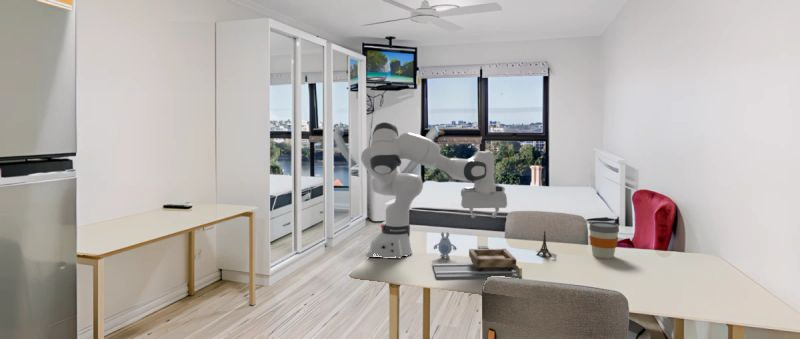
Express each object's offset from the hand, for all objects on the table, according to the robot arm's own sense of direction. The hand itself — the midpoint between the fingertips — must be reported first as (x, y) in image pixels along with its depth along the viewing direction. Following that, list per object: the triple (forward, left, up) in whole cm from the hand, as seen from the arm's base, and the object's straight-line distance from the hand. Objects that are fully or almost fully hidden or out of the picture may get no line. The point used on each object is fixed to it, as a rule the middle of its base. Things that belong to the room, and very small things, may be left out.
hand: (483, 217), depth 194 cm
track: (-7, -16, -20) cm, 26 cm away
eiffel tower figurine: (+30, +5, -20) cm, 37 cm away
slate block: (0, 0, -20) cm, 20 cm away
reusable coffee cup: (+57, +4, -20) cm, 60 cm away
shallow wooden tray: (0, -16, -18) cm, 24 cm away
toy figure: (-17, +4, -20) cm, 26 cm away
